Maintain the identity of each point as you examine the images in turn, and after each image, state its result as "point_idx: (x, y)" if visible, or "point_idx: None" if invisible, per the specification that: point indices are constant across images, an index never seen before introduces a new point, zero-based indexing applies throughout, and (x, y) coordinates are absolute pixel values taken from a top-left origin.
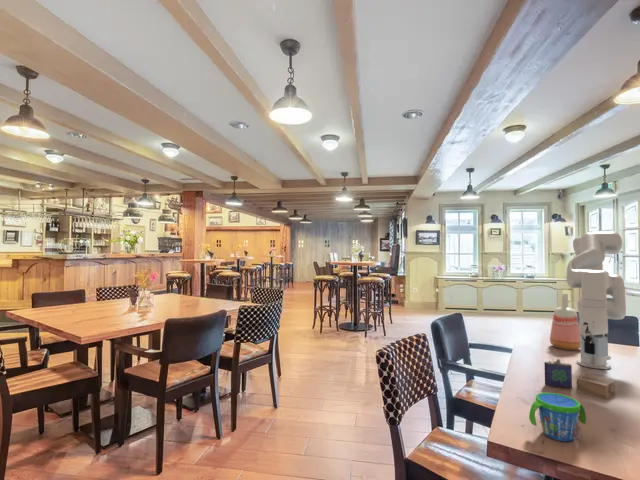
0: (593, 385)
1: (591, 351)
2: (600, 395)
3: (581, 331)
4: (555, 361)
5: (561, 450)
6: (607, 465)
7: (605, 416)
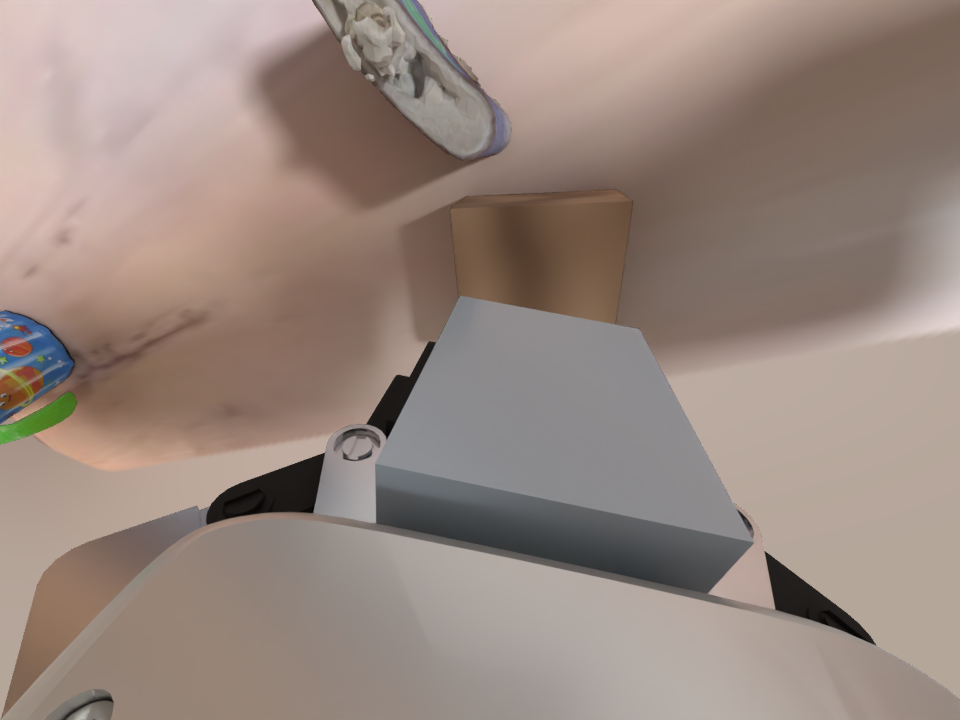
0: None
1: None
2: None
3: (32, 635)
4: (360, 14)
5: None
6: (74, 443)
7: (296, 376)
